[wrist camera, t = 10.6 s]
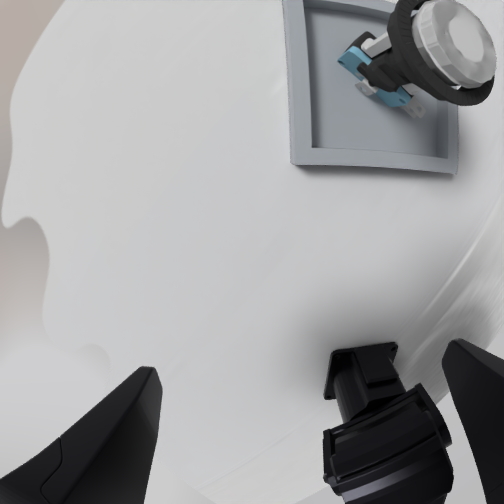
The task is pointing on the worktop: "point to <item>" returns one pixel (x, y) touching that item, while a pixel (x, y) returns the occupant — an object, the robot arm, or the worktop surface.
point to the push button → (425, 56)
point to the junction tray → (355, 96)
